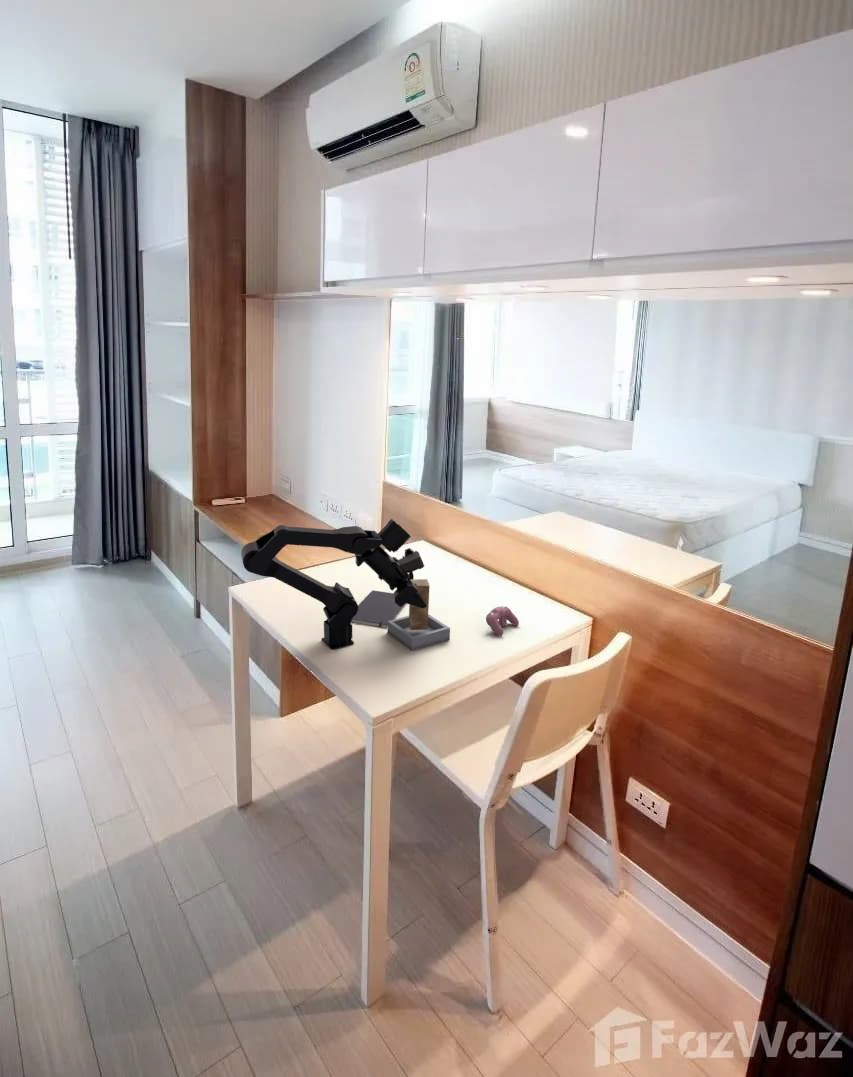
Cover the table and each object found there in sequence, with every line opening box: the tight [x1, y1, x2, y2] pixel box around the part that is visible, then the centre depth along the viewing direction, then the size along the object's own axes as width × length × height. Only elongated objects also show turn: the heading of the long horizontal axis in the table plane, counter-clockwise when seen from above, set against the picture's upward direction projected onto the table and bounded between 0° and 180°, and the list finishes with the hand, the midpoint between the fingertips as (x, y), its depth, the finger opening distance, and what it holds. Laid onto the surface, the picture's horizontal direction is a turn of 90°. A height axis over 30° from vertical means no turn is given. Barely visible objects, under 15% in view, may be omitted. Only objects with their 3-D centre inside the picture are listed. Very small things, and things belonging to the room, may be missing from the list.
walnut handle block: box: [408, 578, 430, 630], centre depth 171 cm, size 4×4×12 cm
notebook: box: [351, 590, 408, 628], centre depth 190 cm, size 13×2×21 cm
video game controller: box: [485, 605, 520, 637], centre depth 180 cm, size 10×5×7 cm, turn 141°
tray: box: [387, 613, 451, 652], centre depth 174 cm, size 12×12×4 cm
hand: (424, 603), depth 172 cm, fingers closed on walnut handle block, 4 cm apart
